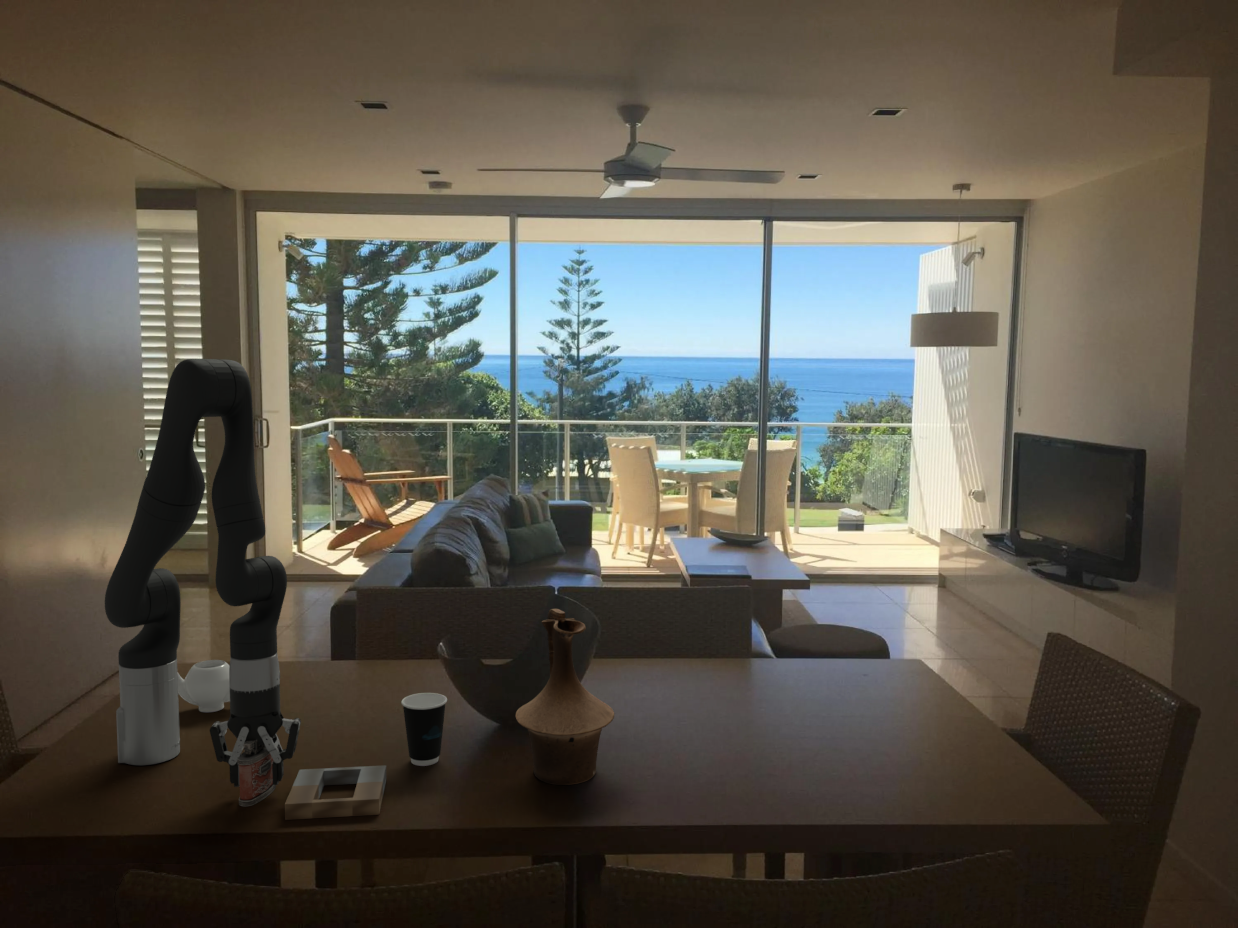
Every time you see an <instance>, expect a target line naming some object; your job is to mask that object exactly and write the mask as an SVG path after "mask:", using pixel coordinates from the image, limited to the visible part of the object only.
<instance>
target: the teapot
mask: <svg viewBox="0 0 1238 928" xmlns="http://www.w3.org/2000/svg"><path fill="white" fill-rule="evenodd" d="M229 667H230V663H228V662H226V661H225V660H222V659H208V660H203V661H198V662H197V663H194V664H193V665H192V666H191V668H190V669H189V670H188V672H187V674H186V676H185V678H183V677H182V676H181V675H180V673H179V672H178V671H177V674H178V696H180V697H181V698H182V699H183V700H184V701H185V702H187V703H189V704H191V705H193V706H198V711H199V712H201V713H214V712H218V711H221V710H223V709H224V708H225V703H230V685H229Z"/></svg>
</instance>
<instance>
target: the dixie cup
mask: <svg viewBox="0 0 1238 928" xmlns="http://www.w3.org/2000/svg"><path fill="white" fill-rule="evenodd" d="M447 702H448V698H447V696H446V695H443V694H441V693H437V692H419V693H413V694H410V695H407V696H405V697H404V698H402V700H401V706H402V708H403V716H404V723H405V724H404V725H405V732H406V733H405V734H406V740H407V741H406V742H407V750H408V757H409V758H410V763H411V764H413V765H415V766H420V767H425V766H426V767H427V766H431V765H434V764H437V763H438V762H439V758H440V755H441V753H442V752H441V751H442V741H443V734H444V733H443V731H444V723H445V713H446V712H445V711H446V703H447Z"/></svg>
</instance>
